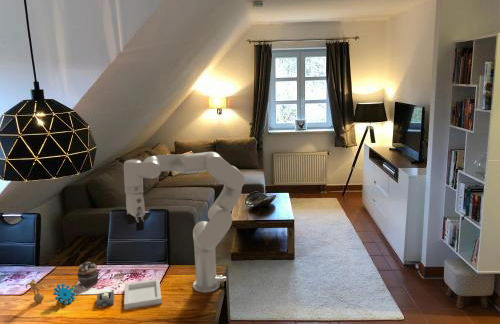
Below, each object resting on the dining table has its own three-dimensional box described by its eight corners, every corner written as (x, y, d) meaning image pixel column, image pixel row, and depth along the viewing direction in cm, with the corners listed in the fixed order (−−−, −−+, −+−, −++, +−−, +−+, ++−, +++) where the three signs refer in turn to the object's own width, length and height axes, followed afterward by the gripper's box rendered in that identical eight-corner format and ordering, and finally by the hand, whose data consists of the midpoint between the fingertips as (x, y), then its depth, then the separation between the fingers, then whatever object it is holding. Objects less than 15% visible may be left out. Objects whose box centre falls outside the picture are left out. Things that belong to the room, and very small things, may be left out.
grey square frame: (114, 296, 181) (113, 291, 180) (113, 306, 173) (112, 301, 173) (98, 298, 179) (97, 293, 179) (96, 309, 171) (95, 303, 171)
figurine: (50, 299, 180) (47, 274, 177) (43, 307, 174) (39, 281, 171) (33, 298, 180) (29, 274, 178) (24, 306, 174) (20, 281, 172)
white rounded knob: (109, 299, 179) (108, 291, 178) (108, 303, 176) (108, 295, 175) (102, 300, 178) (101, 292, 177) (102, 304, 175) (101, 296, 174)
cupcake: (73, 285, 191) (71, 266, 189) (88, 276, 200) (86, 257, 197) (89, 289, 187) (86, 270, 185) (104, 279, 196) (101, 260, 194)
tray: (159, 283, 191) (159, 278, 191) (161, 303, 175) (161, 298, 174) (125, 288, 187) (125, 283, 187) (124, 309, 171) (124, 304, 170)
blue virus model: (63, 306, 171) (50, 287, 173) (56, 314, 173) (43, 295, 174) (82, 296, 182) (69, 278, 183) (75, 303, 183) (62, 286, 185)
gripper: (150, 192, 165) (152, 231, 169) (134, 183, 179) (136, 219, 182) (133, 195, 161) (134, 235, 165) (118, 185, 174) (119, 222, 178)
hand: (135, 226), depth 174 cm, fingers open, 9 cm apart
